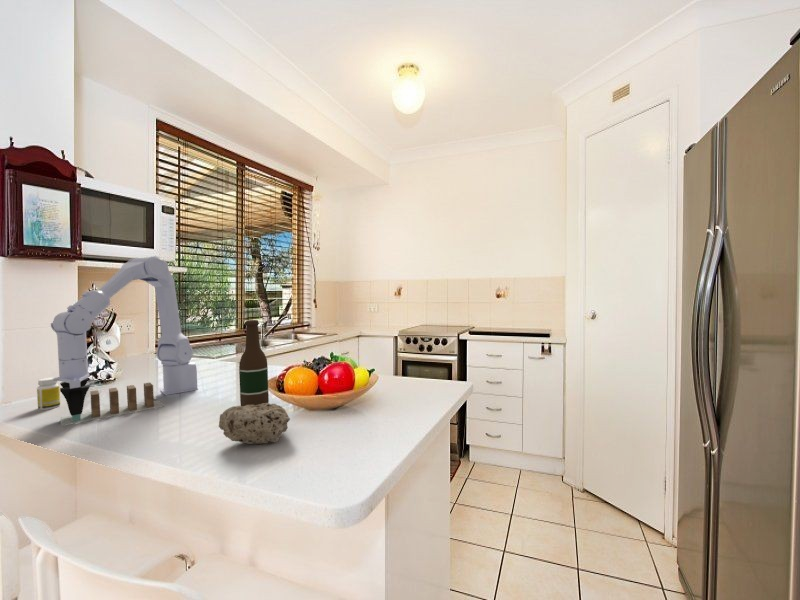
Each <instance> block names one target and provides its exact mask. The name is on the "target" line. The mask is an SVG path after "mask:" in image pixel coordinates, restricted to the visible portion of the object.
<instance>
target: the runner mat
mask: <svg viewBox="0 0 800 600" xmlns="http://www.w3.org/2000/svg"><path fill="white" fill-rule="evenodd" d="M163 407H165V405H163V403H162V402H161V401H160V400H159V399H157V400H154V407H149V408H147V407H146V405H145V403H144V402H141V403H137V410H133V411H130V410H129V409H128V405H125V406H124V405H123V406H119V413H117V414H111V411H110V408H108V409H100V417H95V418H93V417H92V413H91V412H84V413H82V414H80V415H81V420H79V421H74V422H73V421H72V416H71V415H68V416H62V417H60V426H61V427H62V426H68V425H72V424H73V425H74V424H78V423H84V422H90V421H94V420H95V421H96V420H99V419H106V418H109V417H110V418H111V417H115V416H120V415H125V414H132V413H137V412H143V411H149V410H153V409H157V408H163Z"/></svg>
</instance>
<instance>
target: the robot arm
mask: <svg viewBox="0 0 800 600" xmlns="http://www.w3.org/2000/svg"><path fill="white" fill-rule="evenodd" d="M135 280H136V281H137V280H140V281H144V282H145V283H148V284H150V285H151V286H152V287H154V289H155V290H154V291H155V297H156V303H157V311H158V317H159V325H160V332H161V337H159V339H158V340H157V350H156V357H157V359H158V360H159V361H161V365H162V383H163V384H162V385H163V388H161V389H160V390H159V391H160V392H161V393H162V394H163V395H164V396H170V395H174V394H180V393H186V392H192V391H197V390H199V388H198V371H197V370H198V369H197V365H196V363H195V361H191V360H192V358H193V356H194V349H193V346H192V344H190V339H189V337H187V336H186V335H185V334H184V333H182V327H181V320H180V319H181V318H180V313H179V305H178V298H177V293H176V292H177V291H176V285H175V284H176V283H175V279H174V277H173V275H172V273H171V271H170V270H169V265H168V262H167V261H166V260H164V259H163V258H162V257H159V256H156V255H155V256H149V257H148V256H146V257H132V258H130V259H128V261H127V262H125V263H123V264H122V265H121V267H120V269H119V270H118V271H117V272H116V273H114V274H113V276H111V277H110V278H109V279H108V280H107V281H106V282H105V283H104V284H103V285H102V286H101V287H100V288H99V289H98V290H96V289H95V290H94V289H93V290H89V291H83V293H82V294H81V296H82V297H81V298H80V299H78V301H76V302H75V303H74V304H71V305H69V306H67V307H66V309H67V311H62V312H59V313H57V314H56V315H55V316H54V318H53V321H52V322H51V323H50V328H51V329H52V330H53V332H55V334H56V340H57V356H58V357H57V359H58V376H56V377H55V376H54V378H53V381H57V382H60V383H59V386H61V387H59V391H60V394H62V395H63V397H64V398H65V401H66V403H67V404H66V405H67V407H68V410H69V414H70V416H72V415H78V414H83V409H84V406H85V404H84V403H85V400H86V399H85V398H86V395H87V393H88V391H89V389H90V385H89V384H88V385H87V383H88V381H89V378H90V373H89V363H88V346H87V345H88V343H87V331H90V329H91V328H92V325H93V324H92V322H93V321H94V320H95V319H96V318H97V317H98V316H99V315H101V313H102V312H103V311H105V310H107V308H108V307H110V305H111V298H112V297H114V296H115V295H116V294H117V293H118V292H120V291H121V290H122V289H124V288H125V287H126V286H127V285H128V284H130V283H131V282H132V281H135Z"/></svg>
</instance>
